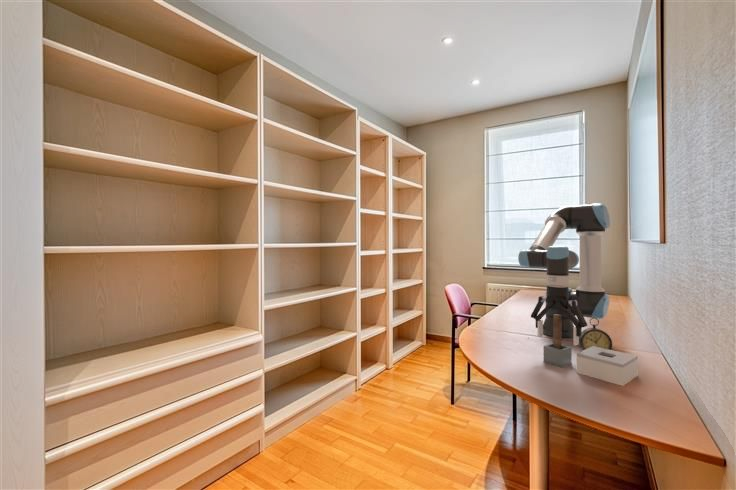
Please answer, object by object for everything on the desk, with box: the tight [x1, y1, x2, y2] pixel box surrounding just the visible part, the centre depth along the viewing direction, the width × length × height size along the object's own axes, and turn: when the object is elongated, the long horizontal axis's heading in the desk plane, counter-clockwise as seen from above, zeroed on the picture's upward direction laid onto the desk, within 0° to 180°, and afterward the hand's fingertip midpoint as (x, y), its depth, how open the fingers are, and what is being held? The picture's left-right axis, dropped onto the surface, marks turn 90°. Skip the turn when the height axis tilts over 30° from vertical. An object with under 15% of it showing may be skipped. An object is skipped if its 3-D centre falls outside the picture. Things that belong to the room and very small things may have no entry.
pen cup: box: [543, 342, 573, 368], centre depth 133 cm, size 7×7×6 cm
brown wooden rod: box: [552, 314, 563, 349], centre depth 133 cm, size 3×3×18 cm
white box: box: [576, 346, 639, 387], centre depth 121 cm, size 14×14×7 cm
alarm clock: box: [578, 318, 613, 351], centre depth 138 cm, size 11×5×16 cm, turn 73°
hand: (557, 340), depth 133 cm, fingers open, 13 cm apart
